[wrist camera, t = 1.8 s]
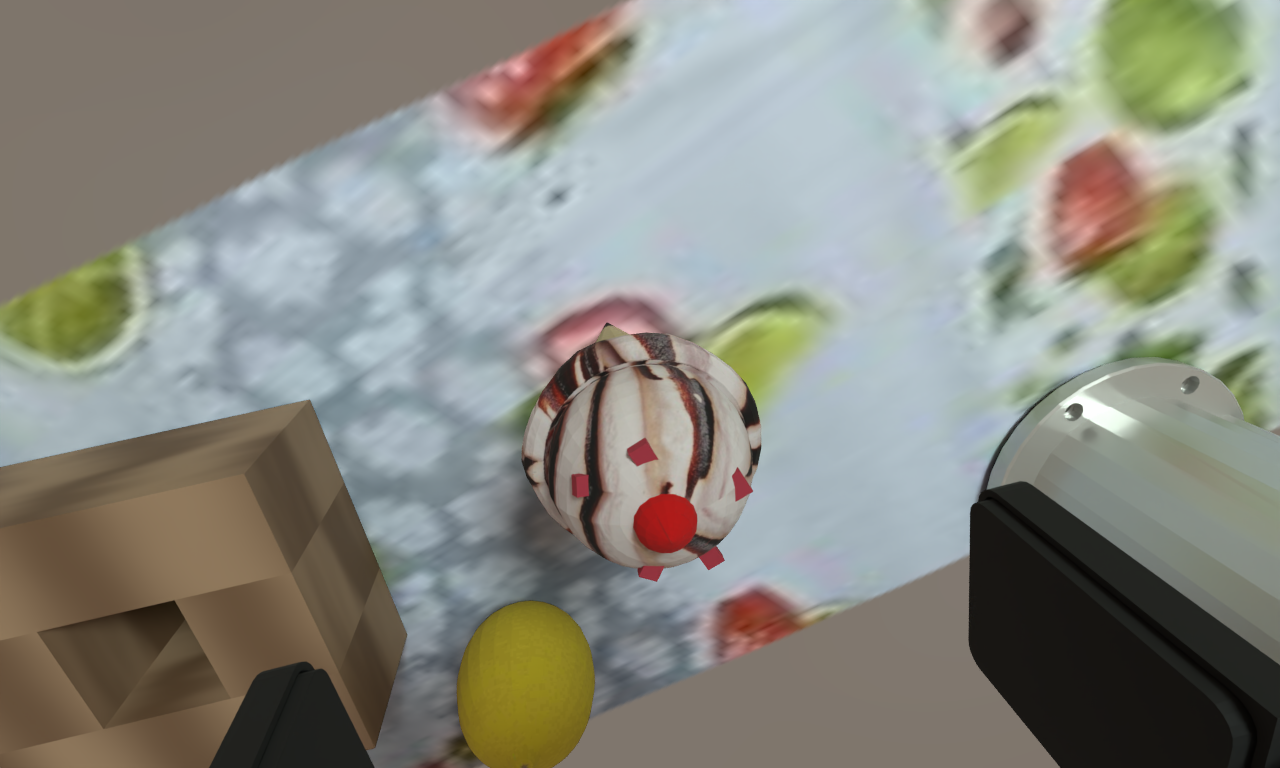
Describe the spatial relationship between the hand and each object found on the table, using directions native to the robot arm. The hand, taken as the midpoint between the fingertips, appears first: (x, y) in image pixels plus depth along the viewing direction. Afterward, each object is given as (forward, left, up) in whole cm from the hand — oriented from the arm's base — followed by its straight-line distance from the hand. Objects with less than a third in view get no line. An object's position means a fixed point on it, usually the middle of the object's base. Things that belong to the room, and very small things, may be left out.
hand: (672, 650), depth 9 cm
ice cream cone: (0, 0, -18) cm, 18 cm away
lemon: (+6, +13, -18) cm, 23 cm away
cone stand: (+18, +7, -18) cm, 26 cm away
